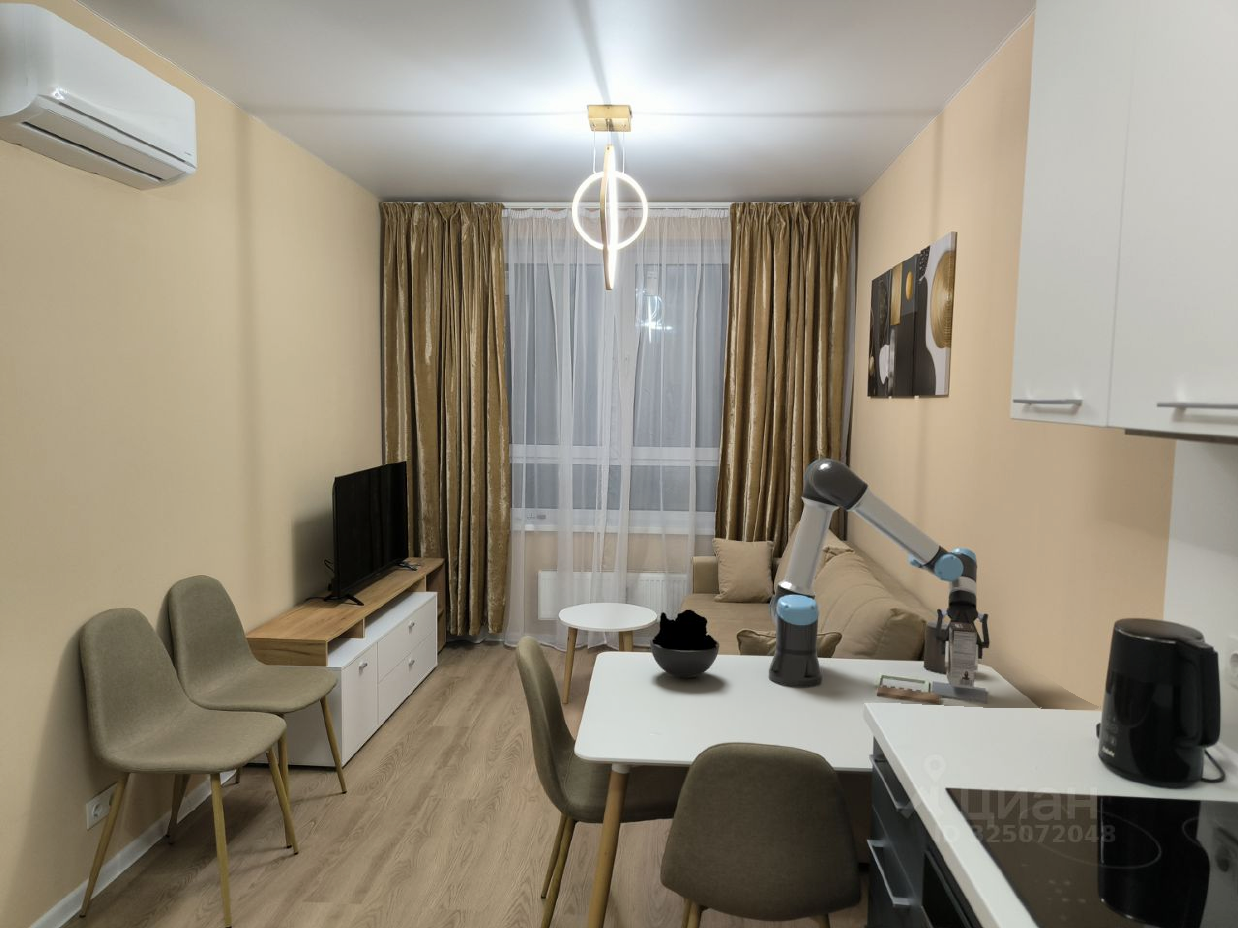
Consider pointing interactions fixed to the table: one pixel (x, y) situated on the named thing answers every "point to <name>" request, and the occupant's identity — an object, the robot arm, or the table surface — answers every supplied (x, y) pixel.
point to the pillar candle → (934, 648)
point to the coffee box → (961, 654)
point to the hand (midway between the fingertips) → (961, 665)
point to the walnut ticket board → (908, 695)
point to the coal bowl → (684, 645)
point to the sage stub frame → (902, 679)
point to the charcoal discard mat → (960, 692)
